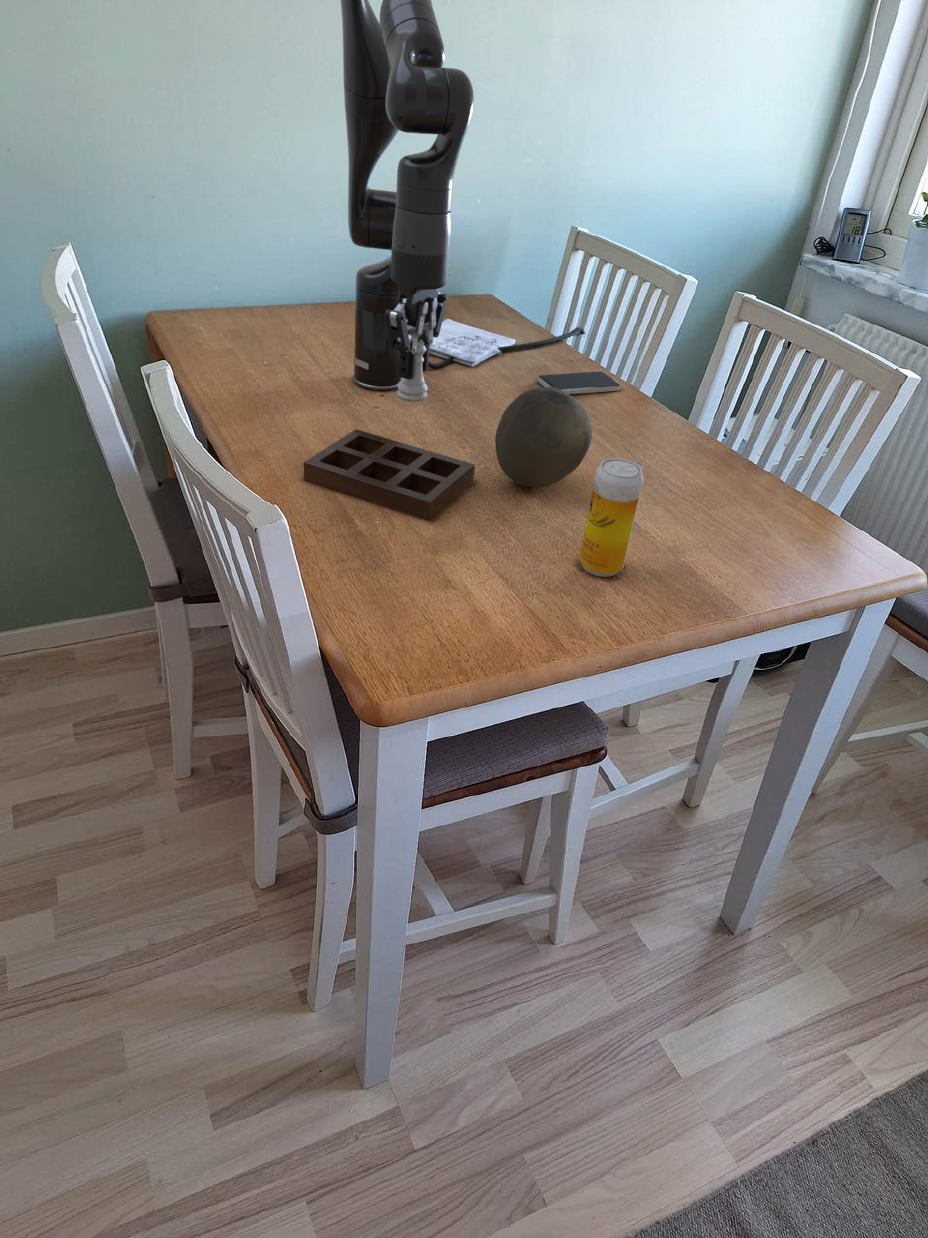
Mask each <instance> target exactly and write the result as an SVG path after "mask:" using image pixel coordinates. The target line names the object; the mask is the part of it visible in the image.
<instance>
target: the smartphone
mask: <svg viewBox="0 0 928 1238" xmlns="http://www.w3.org/2000/svg"><path fill="white" fill-rule="evenodd" d="M537 382H538V383H539V384H540V385H542V387H552V388H556V389H559V390H562V391H564V392H566V393H567V394H569V395H577V394H579V395H580V394H591V393H592V394H593V393H604V392H616V391H617V392H619V391H621V388H622V384H620V383H619V382H618V381H616V380H615V379H614V378H612V377H611V376H610V375H608V374H607V373H605V372H603V371H587V372H585V371H584V372H571V373H555V374H541V375H538V376H537Z"/></svg>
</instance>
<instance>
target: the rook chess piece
mask: <svg viewBox="0 0 928 1238" xmlns="http://www.w3.org/2000/svg"><path fill="white" fill-rule="evenodd" d="M409 341H410V342H411V339H409ZM425 351H426V347H425V346H424V342H423V340H420V341H419V342H417V349H416V352H415V353H416V365H415V377H414V378H413V379H411V380H409V379H405V378H401V381H400V382H399V384H398V387H397V388H396V389H398V390H397V391H396V395H397V396H398V398H399V399H400V400H402V401H405V402H408V403H409V402H410V403H419V402H423V401H425V400H426V399H427V397H428V393H427V391H428V385H427V383H426V380H425V379H424V372H423V370H422V363H423V361H424V358H423V354H424V352H425Z"/></svg>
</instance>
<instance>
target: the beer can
mask: <svg viewBox="0 0 928 1238" xmlns="http://www.w3.org/2000/svg"><path fill="white" fill-rule="evenodd" d="M643 485H644V475H643V468H642V467H641V465H640V464H639V463H637V462H635V461H632V460H630V459H627V458H621V457H610V458H605V459H604V460H602V461H601V463H600V465H599V466H598V467H597V468H596V470H595V476H594V480H593V486H592V490H591V491H592V492H591V497H590V502H589V507H588V512H587V517H586V523H585V527H584V532H583V538H582V543H581V548H580V553H579V562H580V563H581V566H582V568H583V569H584V570H585V571H586V572H587V573H589V574H591V575H593V576H597V577H603V578H606V577H613V576H615V575H617V574H618V573H619V572H621V571H622V570H623V569H624V567H625V563H626V559H627V555H628V549H629V546H630V541H631V536H632V532H633V528H634V523H635V520H636V515H637V510H638V505H639V501H640V497H641V494H642V493H641V492H642V489H643V488H642V487H643Z"/></svg>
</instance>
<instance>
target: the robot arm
mask: <svg viewBox="0 0 928 1238" xmlns="http://www.w3.org/2000/svg"><path fill="white" fill-rule="evenodd" d="M340 9H341V27H342V68H343V70H342V71H343V97H344V99H343V100H344V113H345V124H346V125H345V126H346V127H345V128H346V139H347V155H348V157H347V158H348V159H347V160H348V176H347V177H348V181H347V182H348V185H347V187H348V188H347V190H348V191H347V224H348V226H347V227H348V233H349V237H350V240H351V242H352V243H353V244H354V245H355V246H357V247H361V248H367V249H376V250H386V251H390V256H388V257H387V258H385V259H384V260H382V261H379V262H376V263H372V264H368V265H365V266H363V267H361V268H359V269H358V270H357V272H356V275H355V309H354V311H355V314H354V318H355V319H354V361H353V363H354V364H353V366H354V369H353V372H354V373H353V382H354V383H355V384H356V385H357V386H359V387H361V388H365V389H367V390H373V391H390V390H391V391H392V390H396V389H398V388H397V387H398V384H399V382H400V381H401V378H405V379H409V380H411V379H413V378H414V377H415V365H416V353H415V352H416V349H417V342H419V341H420V340H423V342H424V346H425V347H426V351H425V352H424V354H423V358H424V361H423V363H422V370H423V373H425V372H427V371H428V370H429V368H430V369H440V368H443V367H446V366H447V365H448V364H450V363H452V362H454V361H453V360H454V357H452V356H451V357H449V358H447V359H444V360H442V361H440V362H437V363H435V362H431V361H430V354H429V350H430V345H432V343H433V338H434V337H436V338H437V337H438V336H439V333H440V329H441V325H442V322H443V321H444V316H445V312H446V308H447V305H448V300H449V295H448V294H446V293H443V292H440V291H439V289H442V288H443V287H445V286H446V285H447V283H448V278H449V277H448V276H449V264H450V249H451V238H452V220H451V219H452V217H451V213H452V211H451V209H452V197H453V196H452V195H453V184H454V176H455V171H456V167H457V163H458V159H459V155H460V153H461V149H462V146H463V143H464V140H465V138H466V135H467V132H468V129H469V126H470V123H471V120H472V116H473V112H474V106H475V92H474V87H473V84H472V82H471V79H470V78H469V76H468V74H467V73H465V72H464V71H463V70H462V69H459V68H454V67H443V66H444V64H445V56H446V53H445V45H444V41H443V38H442V34H441V31H440V28H439V24H438V20H437V18H436V15H435V11H434V7H433V3H432V0H382V2H381V5H380V10H379V11H380V12H379V19H378V17H377V16H376V14H375V12H374V10H373V8H372V6H371V4H370V1H369V0H340ZM399 131H400V132H403V133H407V134H421V135H422V134H423V135H437V136H436V137H435V140H434V142H433V144H432V145H431V146H430V148H428V149H427V150H423V151H421V152H416V153H413V154H408V155H405V156H403V157H401V158H400V159H399V161H398V164H397V169H396V170H397V171H396V189H395V190H396V191H394V190H393V191H392V190H383V189H373V188H370V187H369V182H370V178H371V177H372V174H373V172H374V169H375V168H376V166H377V164H378V162H379V160H380V158H382V156H383V154H384V153H385V151H386V150H387V149H388V147H389V146H390V145H391V143H392V142H393V140H394V139H395V137H396V136H397V134H398V133H399ZM577 333H580V334H582V335H585V334H586V331H585V329H584V328H583V327H582V326H577V327H575V328H574V329H572V330H571V331H570V332H567V333H564V334H561V335H558V336H555V337H551V338H547V339H543V340H538V341H532V342H526V343H519V344H514V345H512V346H505V347H499V348H498V350H499V351H500V352H501V353H502V352H510V351H517V350H523V349H529V348H535V347H540V346H545V345H549V344H554V343H556V342H559V341H563V340H566V339H569V338H571V337H573V336H574V335H576V334H577ZM409 335H410V336H411V342H410V341H409ZM500 352H499V353H500Z"/></svg>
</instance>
